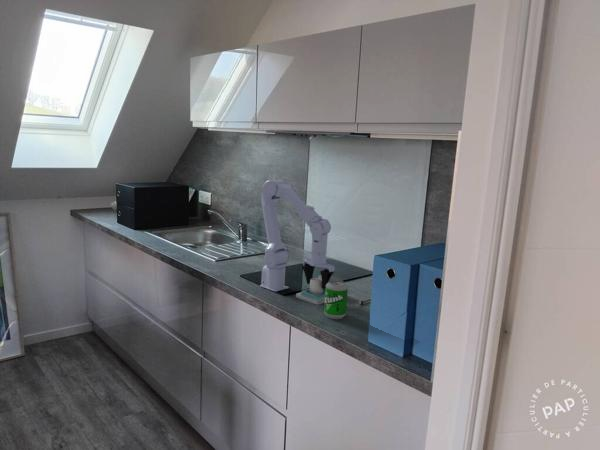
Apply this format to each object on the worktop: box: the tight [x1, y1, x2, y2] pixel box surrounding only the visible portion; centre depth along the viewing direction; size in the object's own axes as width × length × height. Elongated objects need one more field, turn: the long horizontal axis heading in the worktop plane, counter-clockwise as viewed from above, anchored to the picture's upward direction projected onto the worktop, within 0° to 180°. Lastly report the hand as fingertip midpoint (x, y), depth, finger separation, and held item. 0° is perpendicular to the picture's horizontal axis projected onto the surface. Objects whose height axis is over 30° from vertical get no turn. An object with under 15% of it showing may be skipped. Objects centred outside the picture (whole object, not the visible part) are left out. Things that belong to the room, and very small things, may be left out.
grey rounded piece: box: [309, 277, 323, 295], centre depth 177 cm, size 5×7×6 cm
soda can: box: [323, 280, 349, 320], centre depth 158 cm, size 8×8×12 cm
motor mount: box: [295, 273, 344, 305], centre depth 178 cm, size 12×18×8 cm, turn 137°
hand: (316, 285), depth 176 cm, fingers open, 7 cm apart
